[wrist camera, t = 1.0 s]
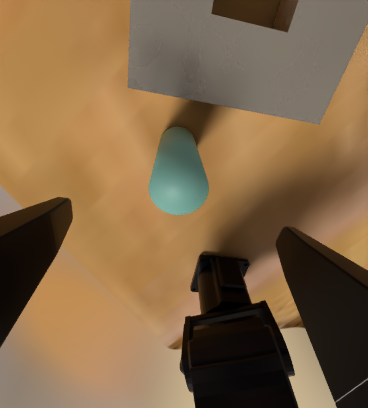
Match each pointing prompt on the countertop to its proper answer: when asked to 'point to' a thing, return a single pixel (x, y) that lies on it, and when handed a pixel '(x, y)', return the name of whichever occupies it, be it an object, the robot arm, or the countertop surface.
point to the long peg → (178, 174)
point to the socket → (245, 54)
